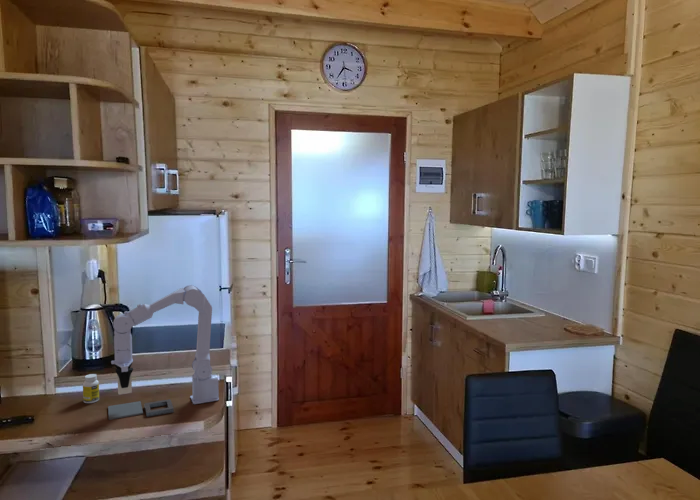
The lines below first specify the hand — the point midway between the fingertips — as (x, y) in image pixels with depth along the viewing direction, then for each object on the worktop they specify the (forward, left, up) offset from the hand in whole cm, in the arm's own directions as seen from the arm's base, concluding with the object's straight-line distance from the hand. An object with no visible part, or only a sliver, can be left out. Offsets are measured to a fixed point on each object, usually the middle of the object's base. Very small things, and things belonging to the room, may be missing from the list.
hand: (124, 385), depth 178 cm
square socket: (-11, +4, -10) cm, 15 cm away
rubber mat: (0, 0, -10) cm, 10 cm away
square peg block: (0, 0, -2) cm, 2 cm away
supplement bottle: (+11, -15, -10) cm, 21 cm away
